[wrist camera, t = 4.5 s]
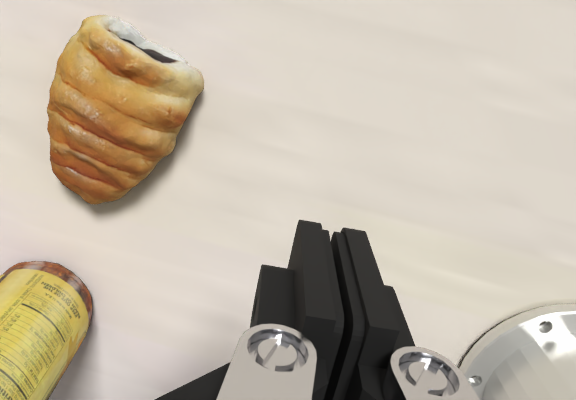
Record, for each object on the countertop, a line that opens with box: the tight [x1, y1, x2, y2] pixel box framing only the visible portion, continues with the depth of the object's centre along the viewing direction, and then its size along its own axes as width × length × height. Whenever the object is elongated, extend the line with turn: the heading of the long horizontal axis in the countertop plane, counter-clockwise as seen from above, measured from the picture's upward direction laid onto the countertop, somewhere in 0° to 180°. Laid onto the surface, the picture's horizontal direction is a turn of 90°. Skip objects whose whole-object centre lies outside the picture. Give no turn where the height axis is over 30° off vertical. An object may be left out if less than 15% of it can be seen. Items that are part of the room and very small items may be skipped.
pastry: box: [47, 15, 204, 204], centre depth 24 cm, size 9×7×4 cm
